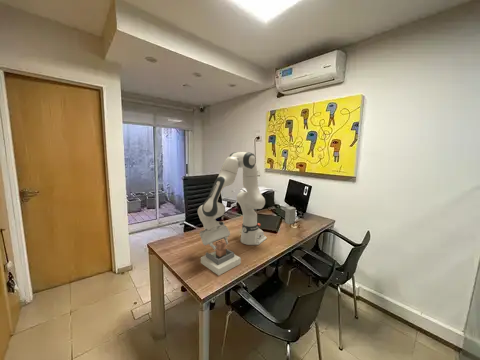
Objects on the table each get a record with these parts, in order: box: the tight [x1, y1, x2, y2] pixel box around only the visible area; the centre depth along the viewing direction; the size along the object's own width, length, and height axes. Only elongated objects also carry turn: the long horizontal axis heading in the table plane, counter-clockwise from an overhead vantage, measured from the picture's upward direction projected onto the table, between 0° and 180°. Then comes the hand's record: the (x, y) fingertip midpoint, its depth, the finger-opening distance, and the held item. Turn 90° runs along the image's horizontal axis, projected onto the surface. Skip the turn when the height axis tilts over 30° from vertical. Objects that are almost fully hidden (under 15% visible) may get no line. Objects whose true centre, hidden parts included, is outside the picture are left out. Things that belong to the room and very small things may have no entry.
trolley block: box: [215, 239, 227, 259], centre depth 128 cm, size 5×4×10 cm
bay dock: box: [200, 248, 242, 276], centre depth 129 cm, size 18×18×7 cm
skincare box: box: [284, 206, 297, 225], centre depth 203 cm, size 8×7×16 cm
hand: (221, 246), depth 128 cm, fingers open, 8 cm apart
